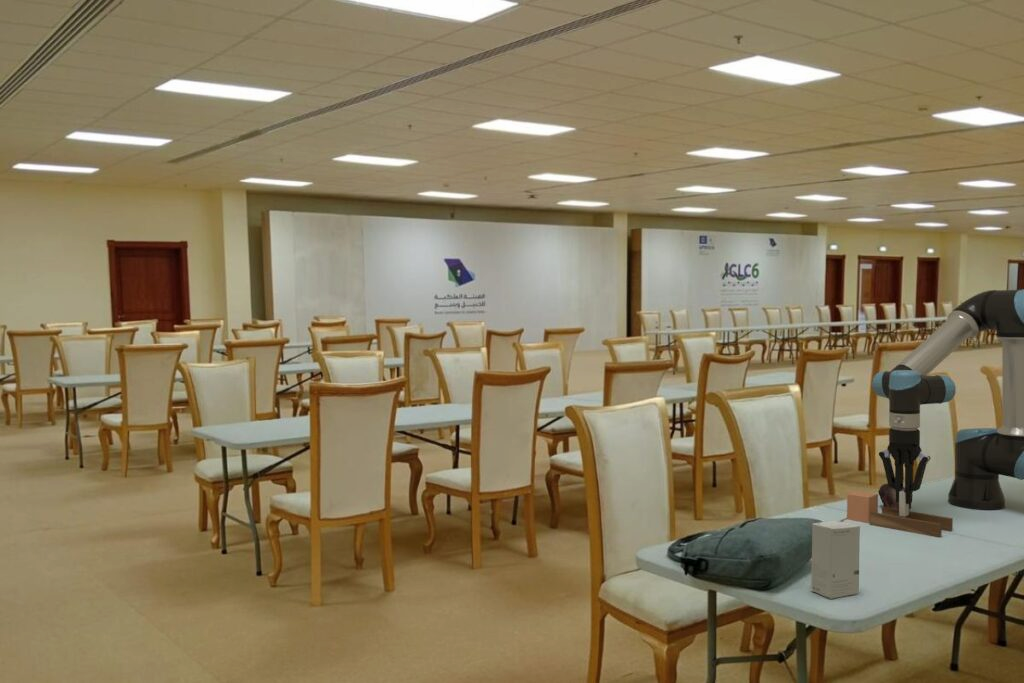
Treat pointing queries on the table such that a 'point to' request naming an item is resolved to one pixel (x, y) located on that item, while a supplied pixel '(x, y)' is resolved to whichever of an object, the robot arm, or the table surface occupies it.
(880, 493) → the rock
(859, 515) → the block
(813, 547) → the skincare box
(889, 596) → the table surface
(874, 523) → the chute
